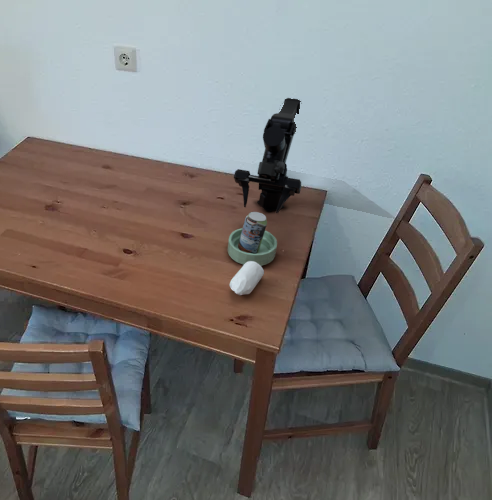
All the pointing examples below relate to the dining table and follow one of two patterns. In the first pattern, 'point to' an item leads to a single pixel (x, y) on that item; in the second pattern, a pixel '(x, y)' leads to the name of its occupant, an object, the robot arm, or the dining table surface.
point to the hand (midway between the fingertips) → (260, 209)
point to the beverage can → (252, 232)
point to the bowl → (262, 257)
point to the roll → (247, 278)
